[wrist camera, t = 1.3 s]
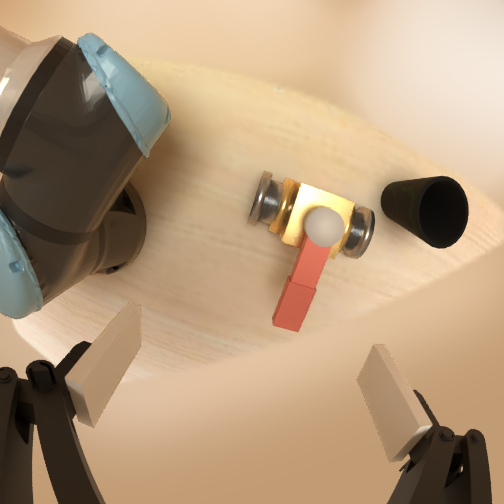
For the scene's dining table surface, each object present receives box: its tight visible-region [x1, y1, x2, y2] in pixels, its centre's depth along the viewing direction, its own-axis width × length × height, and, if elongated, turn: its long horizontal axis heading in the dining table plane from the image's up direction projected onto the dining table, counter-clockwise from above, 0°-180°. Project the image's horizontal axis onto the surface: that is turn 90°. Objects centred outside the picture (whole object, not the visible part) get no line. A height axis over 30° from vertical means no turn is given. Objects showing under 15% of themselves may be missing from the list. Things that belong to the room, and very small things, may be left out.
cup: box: [381, 176, 469, 249], centre depth 30 cm, size 8×8×12 cm
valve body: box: [247, 171, 375, 259], centre depth 32 cm, size 14×7×10 cm, turn 72°
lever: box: [272, 206, 345, 332], centre depth 27 cm, size 13×4×2 cm, turn 162°
